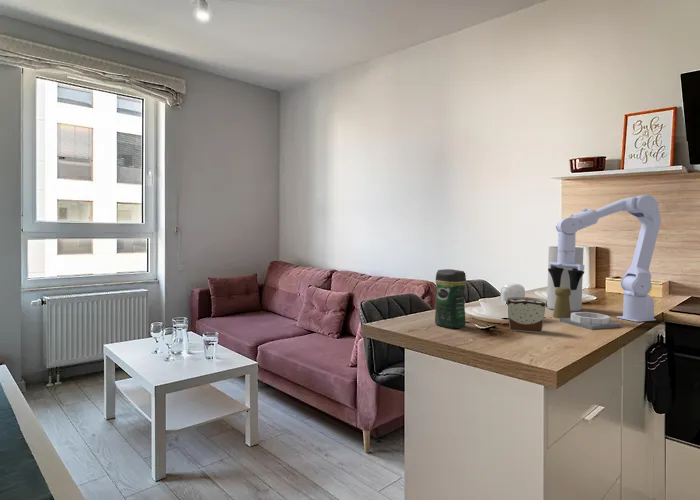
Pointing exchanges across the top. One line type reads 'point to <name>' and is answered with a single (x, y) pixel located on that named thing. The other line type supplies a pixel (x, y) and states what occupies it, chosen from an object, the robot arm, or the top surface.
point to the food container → (526, 314)
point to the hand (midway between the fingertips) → (565, 288)
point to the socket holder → (590, 320)
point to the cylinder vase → (565, 281)
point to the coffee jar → (450, 298)
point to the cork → (562, 303)
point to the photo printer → (512, 291)
